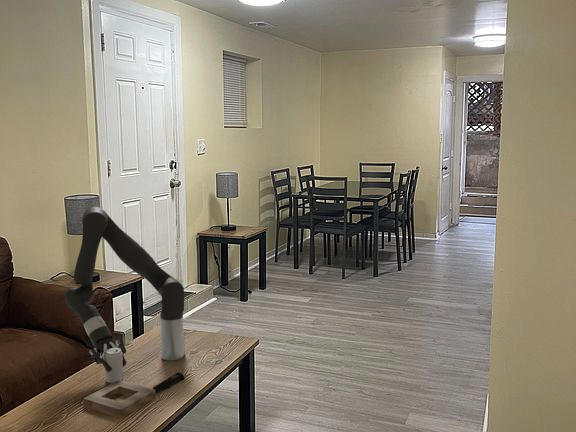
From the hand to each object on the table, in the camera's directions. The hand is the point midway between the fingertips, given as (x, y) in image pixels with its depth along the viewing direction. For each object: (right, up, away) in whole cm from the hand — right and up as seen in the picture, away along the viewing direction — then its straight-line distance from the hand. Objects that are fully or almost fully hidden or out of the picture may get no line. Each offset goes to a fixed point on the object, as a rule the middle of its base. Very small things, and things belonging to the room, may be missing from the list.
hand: (117, 368), depth 216 cm
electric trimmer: (+20, -6, -2) cm, 21 cm away
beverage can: (-2, -5, +2) cm, 6 cm away
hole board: (+5, -8, -15) cm, 18 cm away
